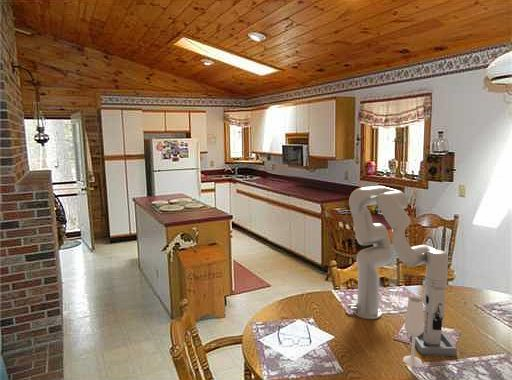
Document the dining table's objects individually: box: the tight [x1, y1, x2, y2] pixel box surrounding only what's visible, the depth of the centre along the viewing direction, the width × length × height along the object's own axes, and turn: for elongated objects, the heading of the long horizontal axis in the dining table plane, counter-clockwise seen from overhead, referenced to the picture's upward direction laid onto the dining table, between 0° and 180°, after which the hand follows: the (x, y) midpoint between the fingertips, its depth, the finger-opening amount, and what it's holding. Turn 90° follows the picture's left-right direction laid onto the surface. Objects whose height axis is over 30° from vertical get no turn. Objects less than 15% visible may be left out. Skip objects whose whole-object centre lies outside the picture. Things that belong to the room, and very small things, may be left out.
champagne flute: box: [402, 296, 425, 367], centre depth 142 cm, size 7×7×24 cm
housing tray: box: [409, 330, 458, 357], centre depth 153 cm, size 13×13×3 cm
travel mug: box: [423, 295, 442, 347], centre depth 152 cm, size 6×7×20 cm
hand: (433, 324), depth 152 cm, fingers open, 6 cm apart
